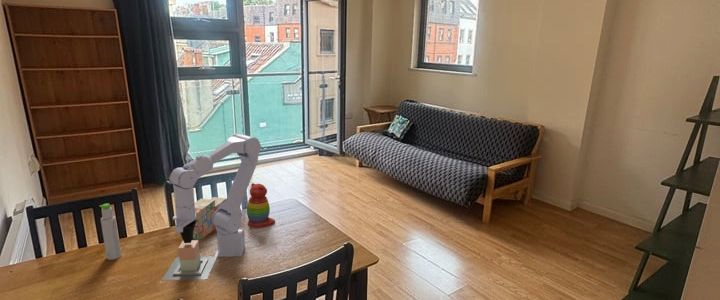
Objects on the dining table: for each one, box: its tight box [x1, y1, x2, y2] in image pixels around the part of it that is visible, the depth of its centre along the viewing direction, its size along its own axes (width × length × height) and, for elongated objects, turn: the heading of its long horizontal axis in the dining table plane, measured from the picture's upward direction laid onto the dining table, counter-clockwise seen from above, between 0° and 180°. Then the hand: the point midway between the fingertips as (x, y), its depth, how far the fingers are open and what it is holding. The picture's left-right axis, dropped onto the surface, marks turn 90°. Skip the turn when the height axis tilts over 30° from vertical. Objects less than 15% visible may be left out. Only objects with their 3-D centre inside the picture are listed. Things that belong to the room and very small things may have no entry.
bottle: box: [99, 203, 122, 261], centre depth 140 cm, size 4×4×20 cm
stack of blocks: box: [192, 196, 227, 241], centre depth 164 cm, size 21×6×12 cm, turn 168°
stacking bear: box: [246, 182, 276, 229], centre depth 169 cm, size 11×10×18 cm
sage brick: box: [180, 251, 201, 272], centre depth 137 cm, size 5×5×4 cm
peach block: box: [177, 239, 200, 260], centre depth 135 cm, size 5×5×4 cm
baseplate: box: [161, 255, 218, 281], centre depth 137 cm, size 14×14×1 cm
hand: (188, 242), depth 134 cm, fingers closed
